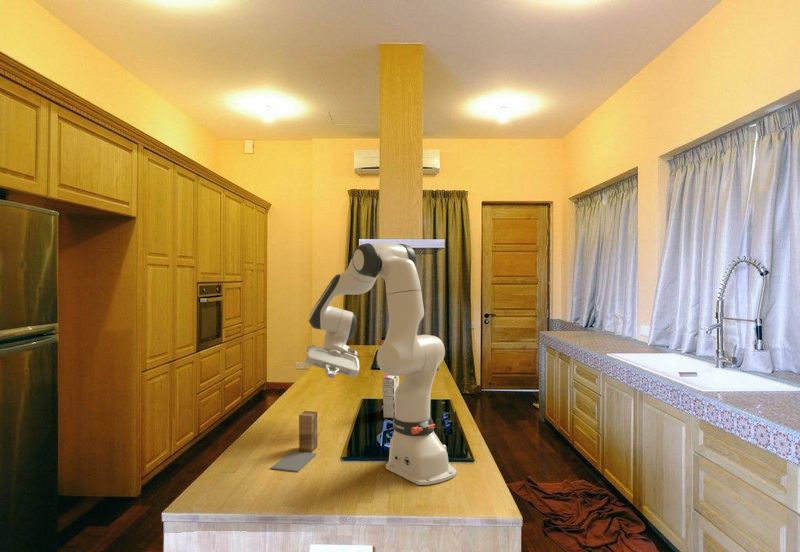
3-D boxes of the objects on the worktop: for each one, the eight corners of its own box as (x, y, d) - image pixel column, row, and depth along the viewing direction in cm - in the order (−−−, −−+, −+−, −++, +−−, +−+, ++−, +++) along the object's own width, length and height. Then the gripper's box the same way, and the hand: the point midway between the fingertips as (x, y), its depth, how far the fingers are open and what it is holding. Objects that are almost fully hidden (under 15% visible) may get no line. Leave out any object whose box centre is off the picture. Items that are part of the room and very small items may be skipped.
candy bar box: (388, 409, 191) (388, 371, 191) (399, 410, 190) (399, 372, 190) (382, 418, 180) (382, 377, 180) (394, 418, 179) (394, 378, 179)
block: (311, 452, 146) (311, 416, 146) (299, 451, 147) (298, 415, 147) (317, 447, 151) (317, 411, 150) (305, 445, 152) (305, 410, 152)
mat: (298, 472, 132) (298, 470, 132) (270, 469, 134) (270, 467, 134) (316, 454, 144) (316, 453, 144) (291, 452, 146) (291, 450, 146)
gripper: (310, 337, 167) (305, 361, 155) (361, 353, 172) (360, 377, 160) (305, 350, 170) (299, 374, 158) (355, 365, 174) (354, 389, 162)
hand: (330, 376), depth 159 cm, fingers closed
